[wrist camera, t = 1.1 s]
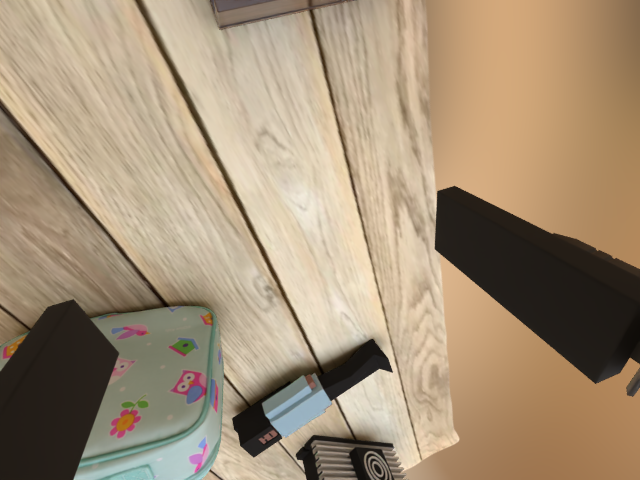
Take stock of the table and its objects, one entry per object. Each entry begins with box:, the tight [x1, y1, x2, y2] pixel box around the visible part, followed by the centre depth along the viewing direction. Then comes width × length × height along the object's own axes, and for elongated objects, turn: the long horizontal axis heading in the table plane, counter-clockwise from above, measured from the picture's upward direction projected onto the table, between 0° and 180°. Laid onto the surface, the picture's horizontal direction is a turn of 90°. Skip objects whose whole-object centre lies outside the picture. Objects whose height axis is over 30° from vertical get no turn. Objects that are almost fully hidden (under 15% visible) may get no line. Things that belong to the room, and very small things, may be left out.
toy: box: [232, 339, 393, 457], centre depth 55 cm, size 10×8×30 cm
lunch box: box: [0, 306, 224, 480], centre depth 33 cm, size 27×10×21 cm, turn 88°
